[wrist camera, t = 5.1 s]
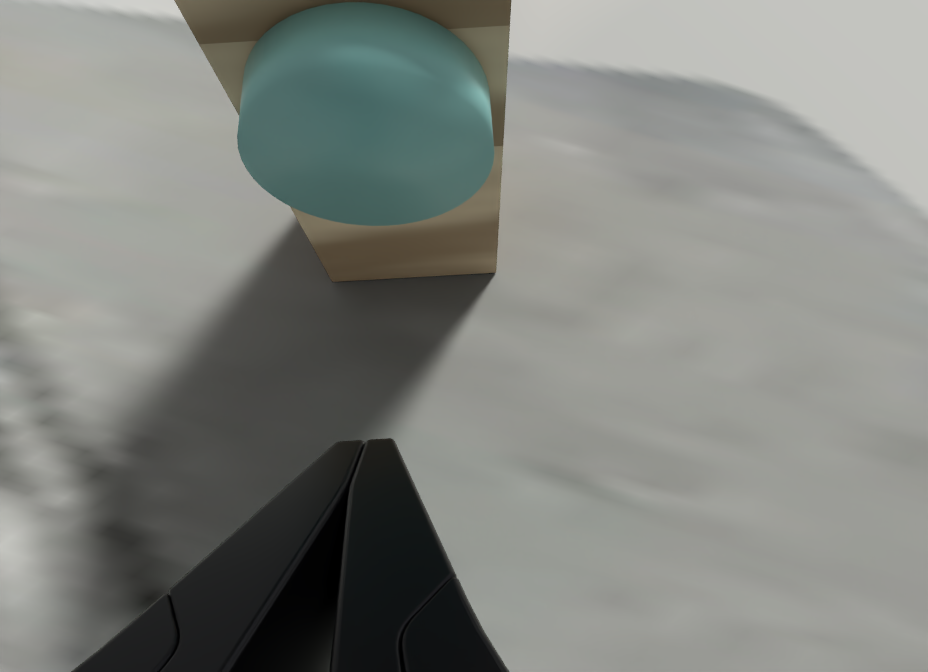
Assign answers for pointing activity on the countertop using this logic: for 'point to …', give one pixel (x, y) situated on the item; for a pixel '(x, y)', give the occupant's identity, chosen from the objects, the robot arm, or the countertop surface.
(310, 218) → the mount
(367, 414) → the countertop surface
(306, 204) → the knob
